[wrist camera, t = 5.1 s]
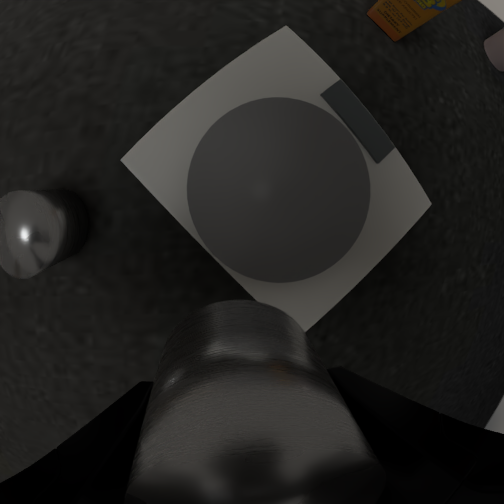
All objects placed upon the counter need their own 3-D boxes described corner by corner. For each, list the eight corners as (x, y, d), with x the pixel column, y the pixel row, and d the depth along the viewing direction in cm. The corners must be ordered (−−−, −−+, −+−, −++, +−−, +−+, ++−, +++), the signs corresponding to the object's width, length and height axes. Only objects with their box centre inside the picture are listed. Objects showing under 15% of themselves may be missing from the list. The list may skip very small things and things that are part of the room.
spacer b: (102, 223, 16) (64, 235, 11) (64, 271, 17) (24, 295, 12) (61, 174, 15) (16, 172, 11) (26, 224, 16) (-20, 235, 11)
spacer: (315, 293, 8) (419, 415, 3) (307, 413, 9) (355, 533, 4) (150, 303, 7) (81, 446, 3) (175, 422, 8) (162, 553, 4)
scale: (414, 202, 18) (437, 204, 16) (289, 325, 19) (299, 344, 16) (279, 40, 15) (288, 20, 13) (131, 163, 16) (116, 158, 13)
